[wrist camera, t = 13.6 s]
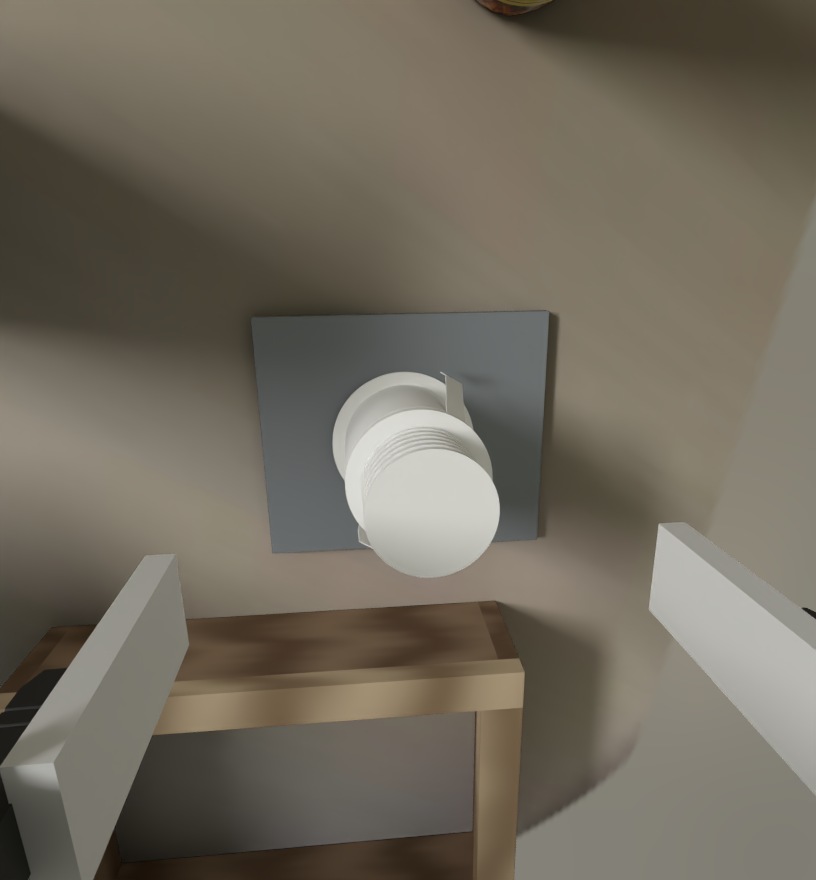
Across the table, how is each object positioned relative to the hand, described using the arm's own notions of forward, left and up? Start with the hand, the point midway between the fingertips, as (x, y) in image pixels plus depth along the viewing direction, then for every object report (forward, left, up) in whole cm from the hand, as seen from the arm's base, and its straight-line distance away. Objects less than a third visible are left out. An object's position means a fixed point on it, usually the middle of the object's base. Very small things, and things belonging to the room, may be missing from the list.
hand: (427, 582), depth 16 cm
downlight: (0, 0, -14) cm, 14 cm away
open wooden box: (-7, -19, -14) cm, 25 cm away
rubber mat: (0, 0, -14) cm, 14 cm away
